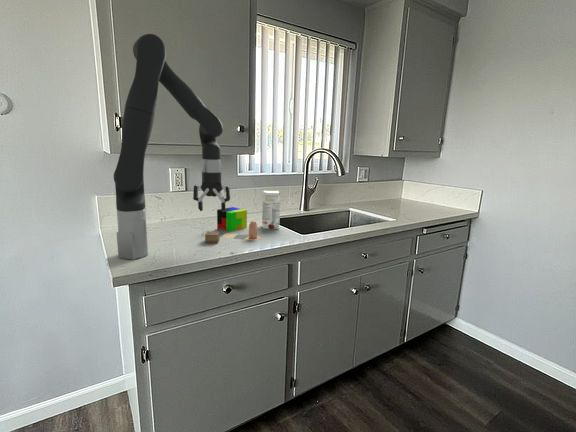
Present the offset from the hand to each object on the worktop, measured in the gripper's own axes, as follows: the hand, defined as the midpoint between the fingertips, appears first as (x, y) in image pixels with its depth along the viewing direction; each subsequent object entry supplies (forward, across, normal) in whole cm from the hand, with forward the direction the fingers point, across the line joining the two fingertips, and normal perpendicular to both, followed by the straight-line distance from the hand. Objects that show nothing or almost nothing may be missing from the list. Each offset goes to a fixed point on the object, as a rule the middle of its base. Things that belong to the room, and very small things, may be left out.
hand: (212, 211), depth 133 cm
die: (+14, 0, 0) cm, 14 cm away
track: (+14, +8, +8) cm, 18 cm away
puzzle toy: (+14, +5, +23) cm, 28 cm away
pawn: (+13, +16, +6) cm, 22 cm away
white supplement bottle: (+14, +24, +26) cm, 38 cm away
